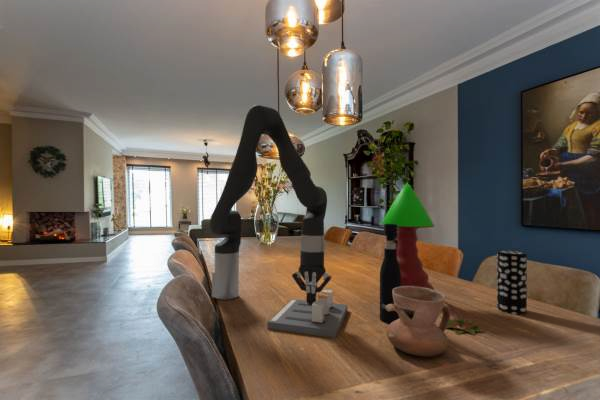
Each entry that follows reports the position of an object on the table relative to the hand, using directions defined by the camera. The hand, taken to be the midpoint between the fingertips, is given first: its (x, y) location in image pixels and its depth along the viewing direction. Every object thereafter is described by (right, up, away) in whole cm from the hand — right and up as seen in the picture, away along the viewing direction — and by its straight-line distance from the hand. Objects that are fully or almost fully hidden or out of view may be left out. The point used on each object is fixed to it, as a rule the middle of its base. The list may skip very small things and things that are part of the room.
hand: (311, 304), depth 95 cm
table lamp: (+38, -5, +22) cm, 44 cm away
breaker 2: (+5, -2, +5) cm, 8 cm away
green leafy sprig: (+44, -6, -5) cm, 45 cm away
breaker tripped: (+4, -2, -1) cm, 4 cm away
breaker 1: (+2, -2, -7) cm, 8 cm away
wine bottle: (+25, -5, 0) cm, 25 cm away
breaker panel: (0, -5, 0) cm, 5 cm away
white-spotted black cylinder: (+69, -6, +9) cm, 70 cm away
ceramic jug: (+26, -5, -18) cm, 33 cm away
